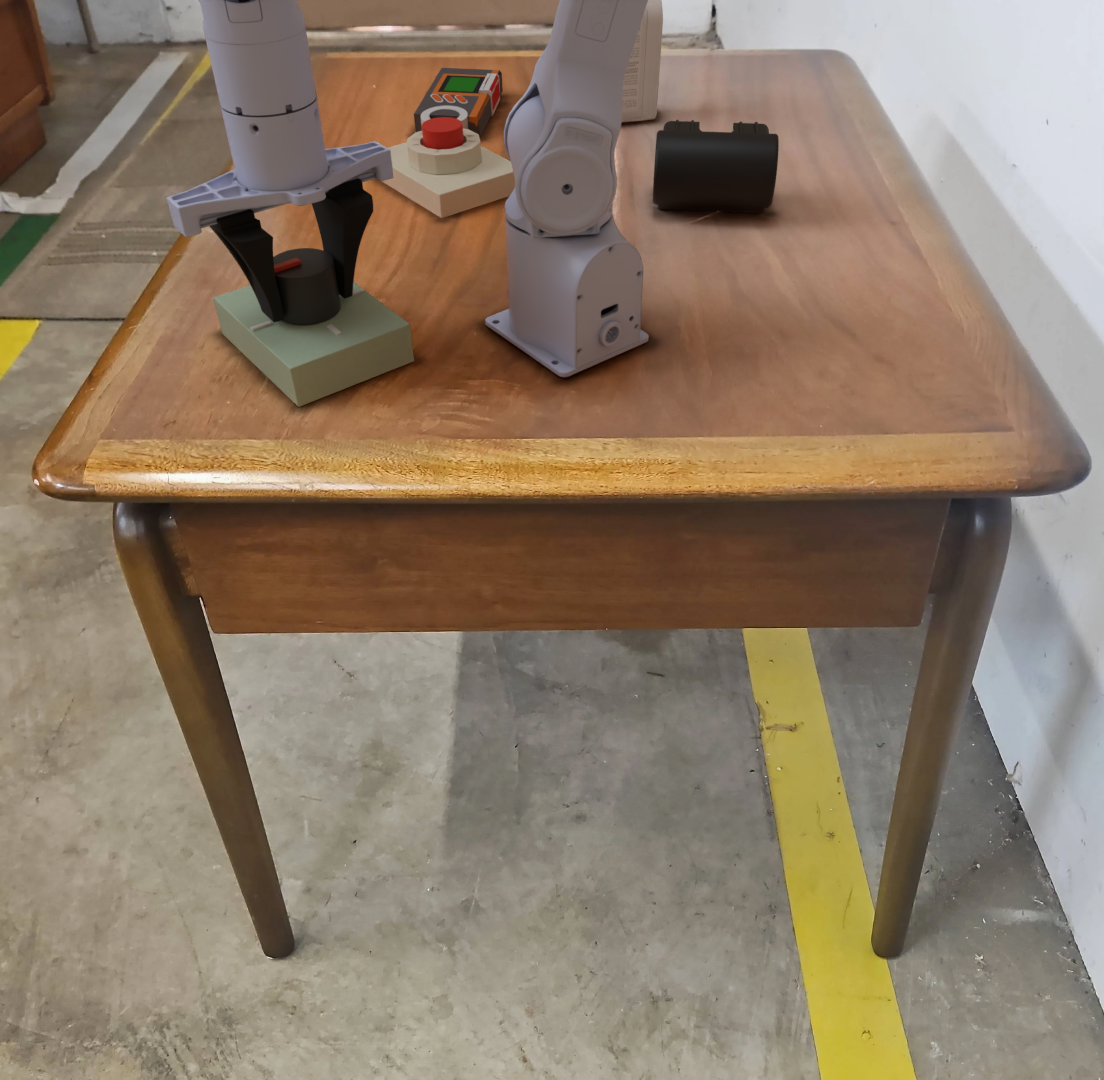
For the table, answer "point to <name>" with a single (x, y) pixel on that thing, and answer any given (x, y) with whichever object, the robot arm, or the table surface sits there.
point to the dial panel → (317, 343)
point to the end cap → (715, 168)
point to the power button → (442, 133)
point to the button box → (450, 174)
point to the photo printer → (644, 67)
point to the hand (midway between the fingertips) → (307, 303)
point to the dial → (307, 286)
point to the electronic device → (462, 97)
